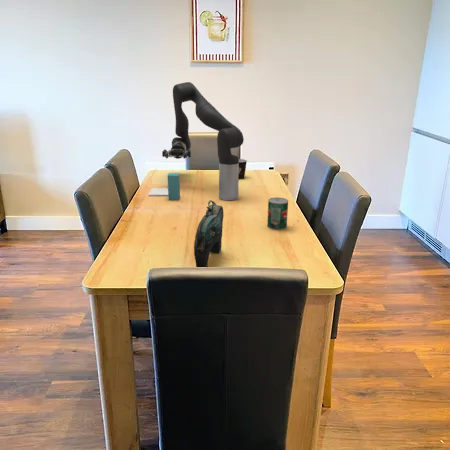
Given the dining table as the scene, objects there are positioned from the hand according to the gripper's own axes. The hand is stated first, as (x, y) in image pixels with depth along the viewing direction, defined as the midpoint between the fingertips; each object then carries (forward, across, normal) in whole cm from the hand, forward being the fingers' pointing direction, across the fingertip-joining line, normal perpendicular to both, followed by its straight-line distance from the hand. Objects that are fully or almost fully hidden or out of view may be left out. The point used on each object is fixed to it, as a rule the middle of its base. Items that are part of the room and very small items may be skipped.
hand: (175, 156), depth 219 cm
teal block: (+12, 0, +18) cm, 22 cm away
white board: (+2, -7, +18) cm, 19 cm away
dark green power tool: (+81, +19, +17) cm, 85 cm away
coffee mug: (-30, +31, +18) cm, 47 cm away
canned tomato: (+49, +45, +17) cm, 69 cm away
